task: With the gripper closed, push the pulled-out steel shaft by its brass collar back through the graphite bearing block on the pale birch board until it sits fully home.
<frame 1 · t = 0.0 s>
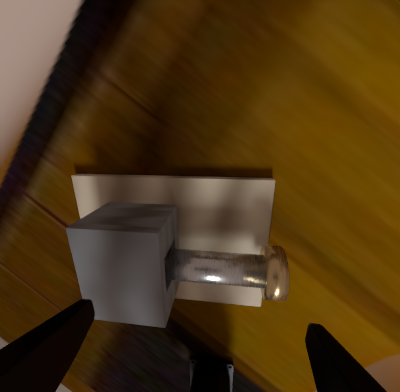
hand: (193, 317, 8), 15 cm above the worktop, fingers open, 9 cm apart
bearing block: (149, 238, 25), on the worktop
shaft: (213, 267, 19), point 5 cm above the worktop, slide at 8.0 cm
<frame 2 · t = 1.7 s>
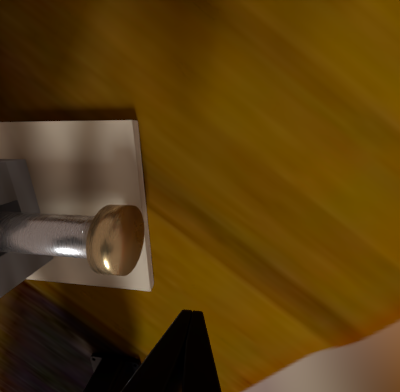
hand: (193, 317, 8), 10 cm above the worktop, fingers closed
bearing block: (14, 207, 20), on the worktop
shaft: (50, 234, 15), point 5 cm above the worktop, slide at 8.0 cm
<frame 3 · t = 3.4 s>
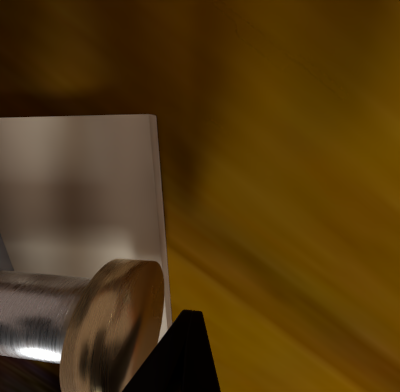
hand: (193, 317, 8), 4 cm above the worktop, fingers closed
shaft: (8, 308, 9), point 4 cm above the worktop, slide at 7.9 cm, touching gripper
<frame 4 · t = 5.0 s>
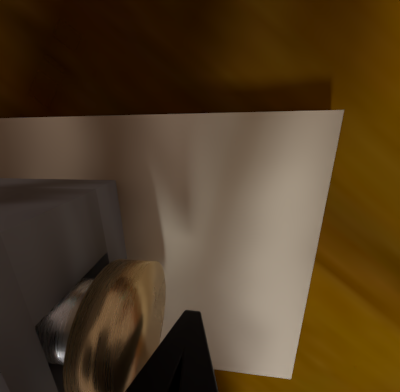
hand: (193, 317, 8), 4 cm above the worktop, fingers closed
bearing block: (76, 250, 13), on the worktop
shaft: (9, 309, 9), point 5 cm above the worktop, slide at -0.1 cm, touching gripper
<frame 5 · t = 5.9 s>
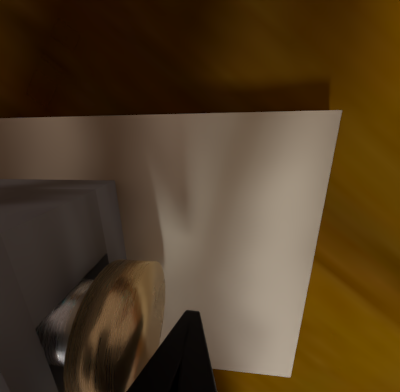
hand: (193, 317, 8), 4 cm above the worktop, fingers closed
bearing block: (75, 251, 13), on the worktop
shaft: (7, 311, 9), point 5 cm above the worktop, slide at -0.1 cm, touching gripper
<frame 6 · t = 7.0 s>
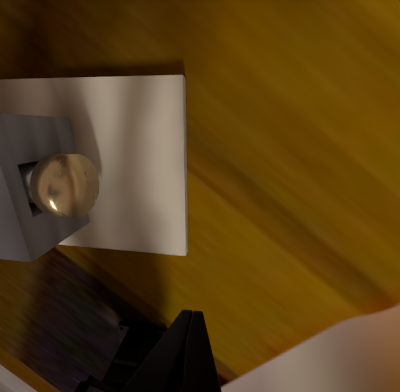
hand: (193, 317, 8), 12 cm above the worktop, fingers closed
bearing block: (51, 170, 20), on the worktop
shaft: (7, 182, 16), point 4 cm above the worktop, slide at 0.0 cm
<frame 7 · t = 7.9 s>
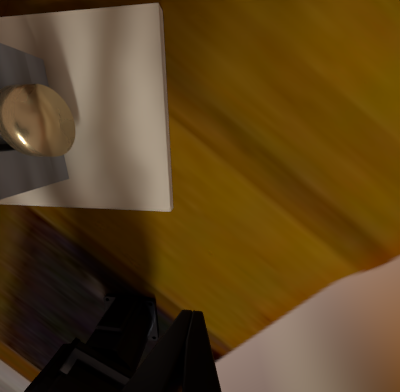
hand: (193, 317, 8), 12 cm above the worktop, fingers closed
bearing block: (28, 125, 19), on the worktop
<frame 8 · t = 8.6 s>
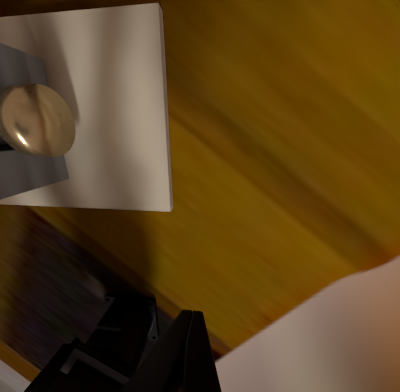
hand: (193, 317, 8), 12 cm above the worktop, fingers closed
bearing block: (28, 125, 19), on the worktop
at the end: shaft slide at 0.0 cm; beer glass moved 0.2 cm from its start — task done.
